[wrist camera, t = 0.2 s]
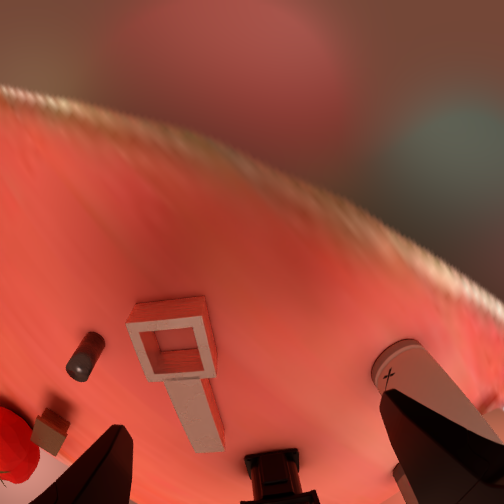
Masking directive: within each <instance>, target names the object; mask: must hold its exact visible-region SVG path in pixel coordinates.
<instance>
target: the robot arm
mask: <svg viewBox="0 0 504 504" xmlns="http://www.w3.org/2000/svg"><path fill="white" fill-rule="evenodd" d="M380 413H381V416H382V419H383V422H384V425H385V428H386V431H387V434H388V437H389V440H390V442H391V445H392V447H393V450H394V452H395V454H396V456H397V458H398V460H399V462H400V464H401V466H402V468H403V471H404V473H405V475H406V477H407V479H408V481H409V483H410V486H411V488H412V490H413V492H414V494H415V497H416V499H417V501H418V503H419V504H504V445H502V444H499V443H497V442H494V441H492V440H489V439H487V438H484V437H482V436H480V435H478V434H476V433H474V432H472V431H470V430H467V428H465V427H463V426H461V425H459V424H457V423H455V422H453V421H452V420H450V419H448V418H446V417H444V416H443V415H441V414H439V413H437V412H435V411H434V410H432V409H430V408H428V407H426V406H425V405H423V404H421V403H419V402H418V401H416V400H414V399H412V398H411V397H409V396H407V395H405V394H404V393H402V392H400V391H399V390H397V389H394V388H392V389H389V390H386V391H384V392H383V394H382V398H381V402H380ZM244 461H245V464H246V467H247V470H248V474H249V477H250V479H251V480H252V487H253V496H254V501H240V504H320V502H319V499H318V496H317V493H316V490H311V491H309V492H305V493H302V488H301V484H300V480H299V475H298V472H299V452H298V449H290V450H285V451H279V452H272V453H265V454H258V455H250V456H245V457H244ZM132 465H133V439H132V437H131V436H130V434H129V433H128V431H127V429H126V428H125V426H123V425H116V424H114V425H112V426H111V427H110V428H109V429H108V430H107V431H106V432H105V433H104V434H103V435H102V436H101V437H100V438H99V439H98V440H97V441H96V442H95V443H94V444H93V445H92V446H91V447H90V448H88V449H87V450H86V451H85V452H84V453H83V454H82V455H81V456H80V457H79V458H78V459H77V460H76V461H75V462H74V463H73V464H72V465H71V466H70V467H69V468H68V469H67V470H66V471H65V472H64V473H63V474H62V475H61V476H60V477H59V478H58V479H57V480H56V482H54V483H53V484H52V485H51V486H49V487H48V488H47V489H46V490H45V491H44V492H43V493H42V494H40V495H39V496H38V497H37V498H35V499H34V500H33V501H32V502H30V503H29V504H129V498H130V490H131V483H132Z"/></svg>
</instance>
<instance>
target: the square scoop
mask: <svg viewBox="0 0 504 504" xmlns="http://www.w3.org/2000/svg"><path fill="white" fill-rule="evenodd" d="M125 324H126V327H127V330H128V333H129V335H130V338H131V341H132V343H133V346H134V349H135V351H136V354H137V356H138V359H139V361H140V364H141V366H142V369H143V371H144V373H145V376H146V378H147V380H148V382H160V381H163V382H164V384H165V387H166V389H167V392H168V394H169V396H170V399H171V401H172V404H173V406H174V408H175V410H176V413H177V415H178V417H179V419H180V422H181V424H182V426H183V428H184V430H185V432H186V434H187V436H188V439H189V441H190V443H191V445H192V447H193V449H194V451H195V453H209V452H224V451H225V434H224V427H223V424H222V421H221V418H220V415H219V411H218V408H217V405H216V402H215V398H214V395H213V392H212V388H211V385H210V381H209V378H215V377H217V350H216V346H215V342H214V337H213V333H212V328H211V324H210V319H209V315H208V310H207V305H206V300H205V296H199V297H191V298H183V299H174V300H166V301H157V302H148V303H139V304H136V305H135V306H134V308H133V310H132V312H131V314H130V316H129V317H128V319H127V321H126V323H125ZM188 327H193V330H194V334H195V338H196V342H197V346H198V349H188V350H177V351H165V352H161V351H160V348H159V345H158V342H157V339H156V336H155V333H154V331H158V330H169V329H179V328H188Z"/></svg>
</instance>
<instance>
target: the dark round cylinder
mask: <svg viewBox="0 0 504 504" xmlns="http://www.w3.org/2000/svg"><path fill="white" fill-rule="evenodd" d="M104 347H105V341H104V339H103V338H102V337H101V336H100V335H99V334H97V333H95V332H89V333H87V334H86V336H85V337H84V339H83V340H82V342H81V343H80V345H79V346H78V348H77V349H76V351H75V352H74V354H73V355H72V357H71V359H70V360H69V362H68V363H67V365H66V371H67V373H68V374H69V375H70V377H72V378H73V379H74V380H76V381H79V382H85V381H87V379H88V377H89V375H90V373H91V372H92V370H93V368H94V366H95V364H96V362H97V360H98V358H99V356H100V355H101V353H102V351H103V349H104Z"/></svg>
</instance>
